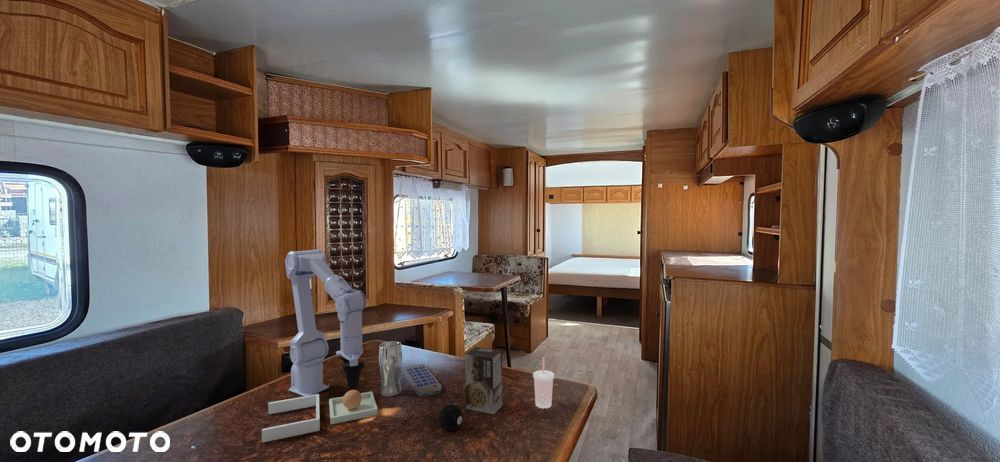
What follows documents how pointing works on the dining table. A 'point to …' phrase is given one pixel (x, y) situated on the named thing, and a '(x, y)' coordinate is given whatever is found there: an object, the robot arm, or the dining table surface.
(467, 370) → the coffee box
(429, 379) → the remote control
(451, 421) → the billiard ball
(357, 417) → the tray
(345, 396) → the ball
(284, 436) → the white bent bar
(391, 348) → the beer glass
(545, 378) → the beverage cup
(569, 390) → the dining table surface
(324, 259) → the robot arm
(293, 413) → the dining table surface
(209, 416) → the dining table surface
